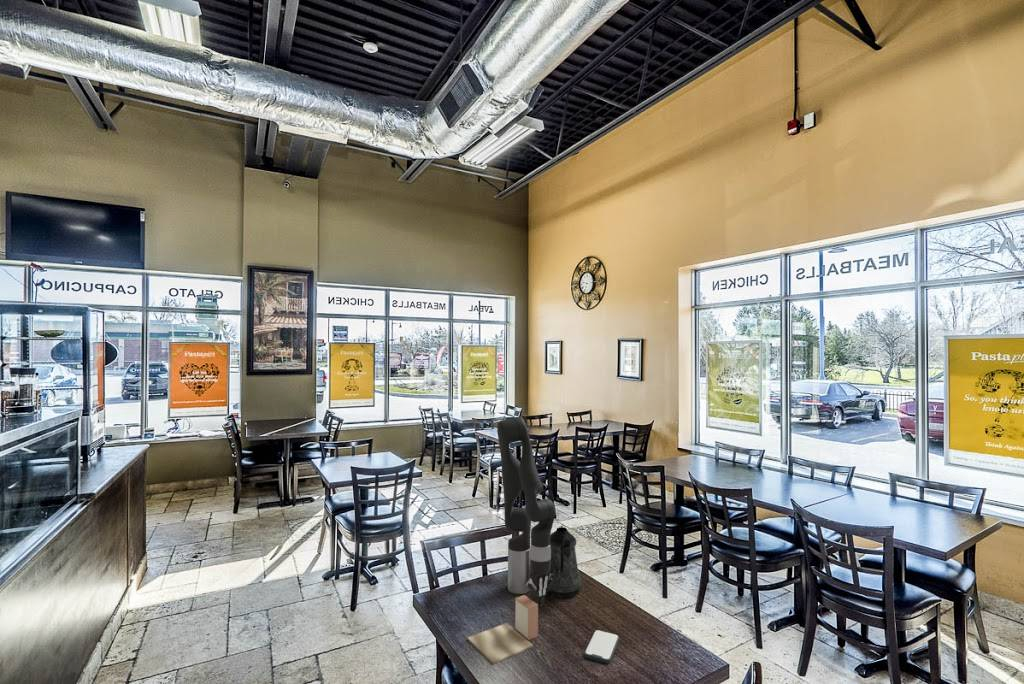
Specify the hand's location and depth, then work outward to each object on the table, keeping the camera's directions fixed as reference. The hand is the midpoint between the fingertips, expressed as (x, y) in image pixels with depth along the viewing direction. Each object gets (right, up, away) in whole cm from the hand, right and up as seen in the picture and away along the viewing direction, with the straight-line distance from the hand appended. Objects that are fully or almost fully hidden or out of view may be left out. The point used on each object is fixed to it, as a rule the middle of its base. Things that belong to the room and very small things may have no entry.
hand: (540, 604), depth 176 cm
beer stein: (+11, -9, +27) cm, 31 cm away
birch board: (-14, -8, -10) cm, 19 cm away
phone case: (+20, -9, -11) cm, 25 cm away
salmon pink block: (-5, -8, -3) cm, 10 cm away
